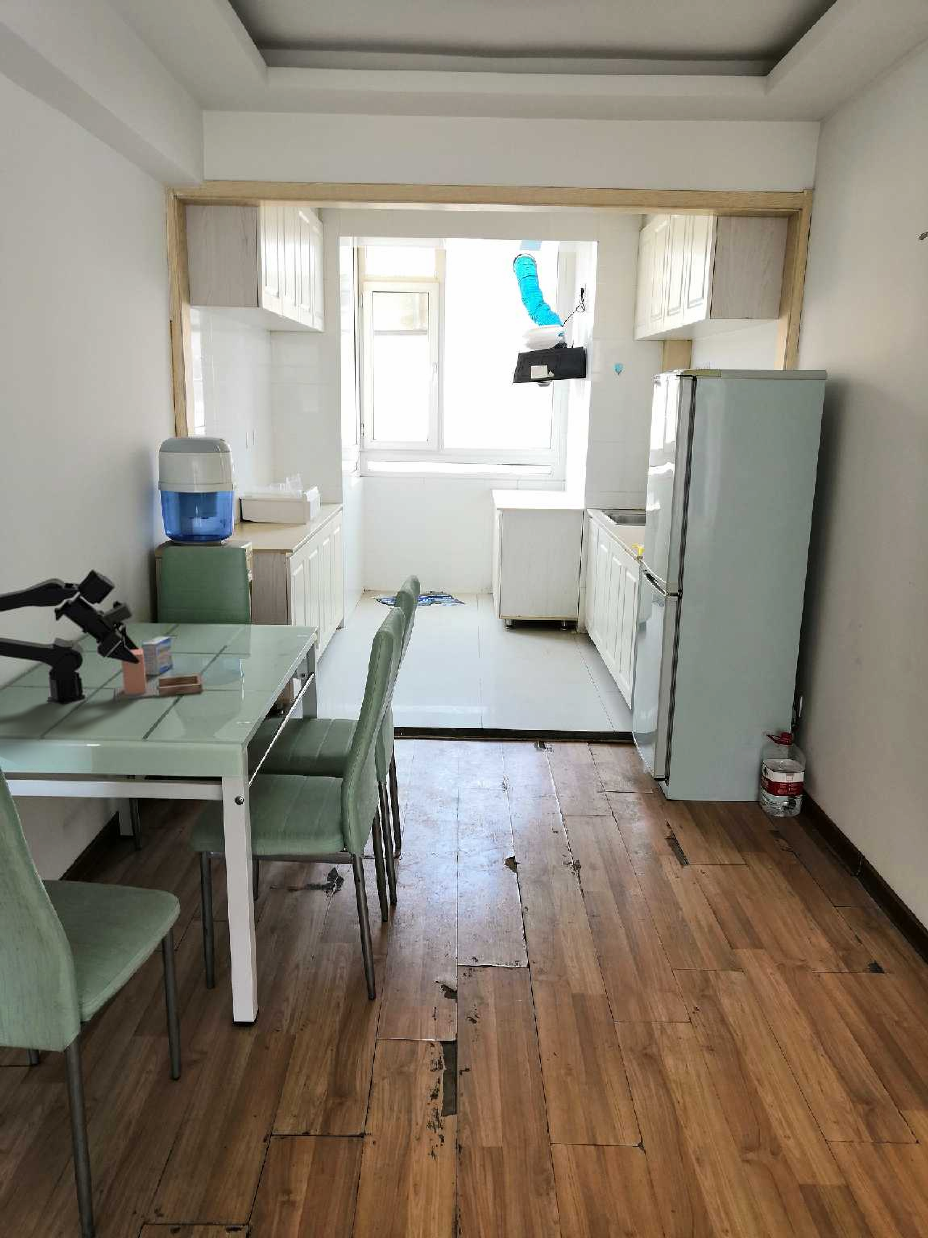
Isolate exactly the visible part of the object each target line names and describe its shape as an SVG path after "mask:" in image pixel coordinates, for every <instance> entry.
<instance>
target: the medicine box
mask: <svg viewBox="0 0 928 1238" xmlns="http://www.w3.org/2000/svg"><path fill="white" fill-rule="evenodd" d="M171 639H172V638H171V637H170V636H155V637H154V638H151V639H150V640H148V641H145V642H144V643H141V649H143V653H144V664H145V675H149V676H150V675H152V676H160V675H162V674H164V673H165V672H167V671H169V670H170V669H172V668H173V667H174V663H173V662H174V661H173V652H172V651H173V650H172V649H173V648H172V641H171ZM168 669H169V670H168Z"/></svg>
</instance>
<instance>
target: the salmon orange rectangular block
mask: <svg viewBox="0 0 928 1238" xmlns="http://www.w3.org/2000/svg"><path fill="white" fill-rule="evenodd" d="M130 651H131V652H132V653H133V654H134V655H135V656H136V657H137V658H138V659H139V663H138V664H134V663H130V662H126V661H122V660H121V669H122V679H123V686H124V690H125V695H127V694H138V693H146V684H147V677H146V675H147V674H145V664H144V653H143V649H142V648H141V649H140V648H139V649H137V650H130Z"/></svg>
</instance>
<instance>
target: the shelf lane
mask: <svg viewBox="0 0 928 1238" xmlns="http://www.w3.org/2000/svg"><path fill="white" fill-rule="evenodd" d="M157 691H158V697H161V696H171V695H173V694H175V695H182V694H192V693H193V694H194V693H204V691H203V679H202V674H201V673H200V674H188V675H177V676H164V677H158V686H157ZM173 696H174V695H173Z"/></svg>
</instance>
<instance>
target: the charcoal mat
mask: <svg viewBox="0 0 928 1238" xmlns="http://www.w3.org/2000/svg"><path fill="white" fill-rule="evenodd" d="M157 697H158V683H157V682H154V683H146V693H138V694H127V695H125V690H124V685H121V686H119V685H118V686H115V689H114V695H113V701H115V702H116V701H125V700H135V699H136V700H138V699H148V698H157ZM137 698H138V699H137Z"/></svg>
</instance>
